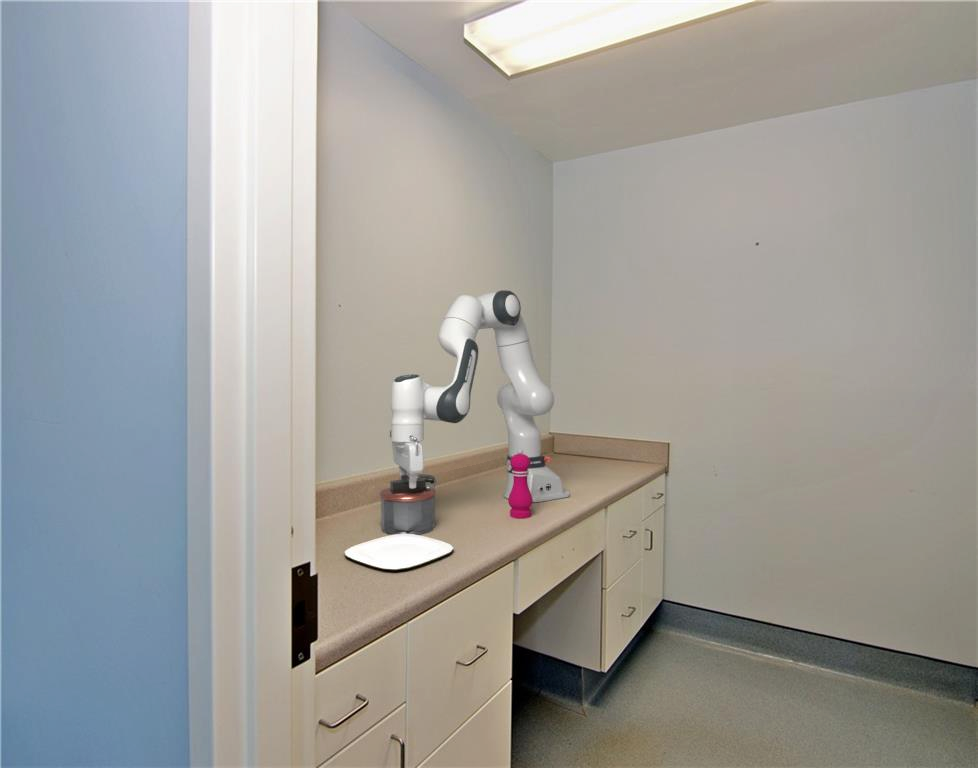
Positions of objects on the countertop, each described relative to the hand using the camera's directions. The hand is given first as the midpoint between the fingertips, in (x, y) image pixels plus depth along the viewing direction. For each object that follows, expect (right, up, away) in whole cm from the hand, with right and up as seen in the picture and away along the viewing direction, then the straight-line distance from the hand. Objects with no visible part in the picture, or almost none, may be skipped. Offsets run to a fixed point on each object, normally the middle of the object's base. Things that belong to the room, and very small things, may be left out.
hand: (408, 484), depth 152 cm
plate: (+1, -13, -21) cm, 25 cm away
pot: (-2, -12, +4) cm, 13 cm away
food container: (0, -12, +24) cm, 27 cm away
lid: (0, -3, 0) cm, 3 cm away
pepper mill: (+32, -12, +13) cm, 36 cm away
